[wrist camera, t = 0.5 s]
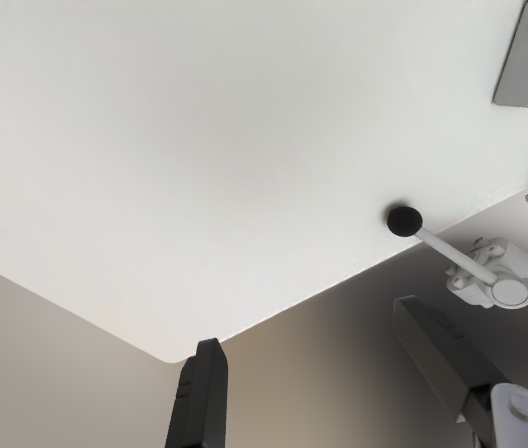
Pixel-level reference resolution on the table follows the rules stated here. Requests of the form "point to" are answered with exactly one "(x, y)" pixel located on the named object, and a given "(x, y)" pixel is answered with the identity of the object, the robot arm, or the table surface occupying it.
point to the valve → (474, 264)
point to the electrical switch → (516, 69)
